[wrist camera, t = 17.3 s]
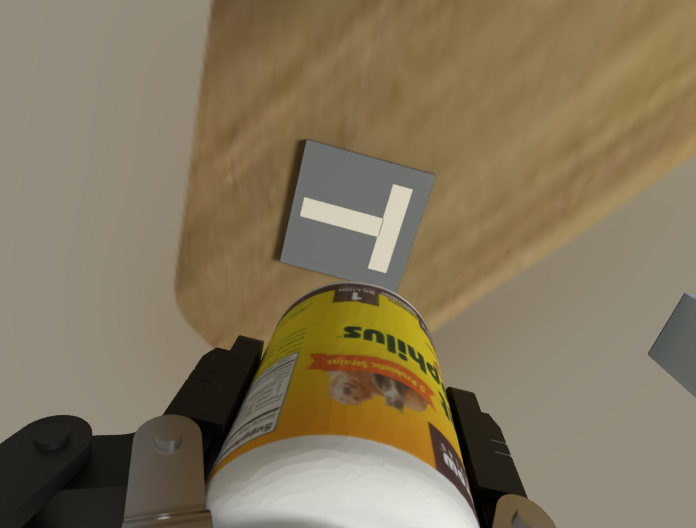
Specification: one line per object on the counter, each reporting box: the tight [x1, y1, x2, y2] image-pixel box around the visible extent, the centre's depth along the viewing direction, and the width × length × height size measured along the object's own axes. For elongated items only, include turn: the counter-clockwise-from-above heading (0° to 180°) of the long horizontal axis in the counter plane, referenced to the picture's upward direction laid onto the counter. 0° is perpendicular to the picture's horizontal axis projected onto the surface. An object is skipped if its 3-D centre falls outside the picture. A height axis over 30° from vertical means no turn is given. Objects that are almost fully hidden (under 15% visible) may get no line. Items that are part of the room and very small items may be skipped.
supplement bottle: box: [205, 281, 480, 528], centre depth 10 cm, size 6×6×10 cm
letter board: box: [280, 139, 436, 293], centre depth 30 cm, size 9×9×1 cm
